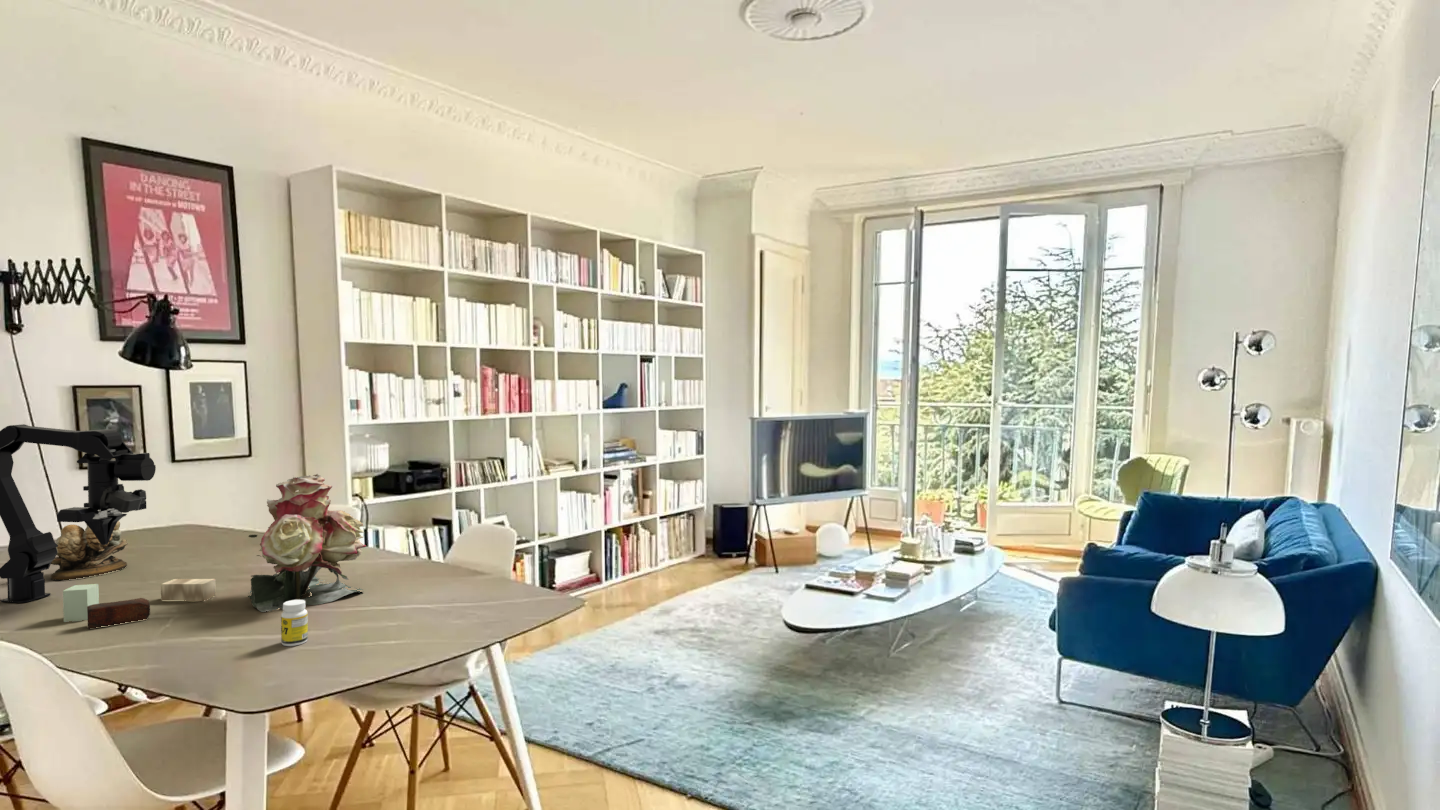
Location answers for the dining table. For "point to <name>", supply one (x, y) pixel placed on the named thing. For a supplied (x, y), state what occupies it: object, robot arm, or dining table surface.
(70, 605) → the sage block
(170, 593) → the maple block
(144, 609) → the brick
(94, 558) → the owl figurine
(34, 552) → the robot arm
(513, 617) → the dining table surface
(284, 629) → the supplement bottle
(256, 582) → the rose bouquet
